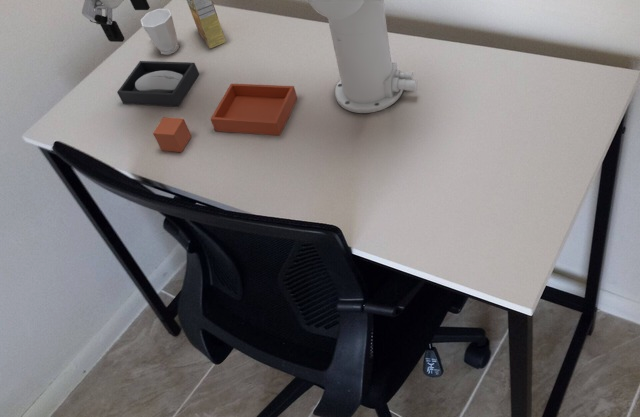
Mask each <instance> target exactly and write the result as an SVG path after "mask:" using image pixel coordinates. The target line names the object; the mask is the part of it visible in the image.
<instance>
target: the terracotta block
mask: <svg viewBox="0 0 640 417" xmlns="http://www.w3.org/2000/svg"><path fill="white" fill-rule="evenodd" d="M152 134H153V137H154V139H155V141H156V143H157V144H158V146H159V148H160V150H161V151H165V152H175V153H183V152H184V150H185V148H186V146H187V145H188V142H189V141H190V140H191V138H192V133H191V131H190V129H189V127H188V124H187V123H186V121H185V119H184V118H181V117H166V116H164V117H162V118H161V120H160V121H159V123H158V125H157V126H156V127H155V129H154V130H153V132H152Z"/></svg>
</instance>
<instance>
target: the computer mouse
mask: <svg viewBox="0 0 640 417" xmlns="http://www.w3.org/2000/svg"><path fill="white" fill-rule="evenodd" d="M182 77H183V75H181V74H179V73H176V72H173V71H155V72H151V73H148V74H146V75H143V76H142V77H140V78H139V79H138V80H137V81H136V82H135V87H136V89H137V90H138V91H140V92H159V93H172V92H173V91H174V89H175V88H176V86H177V85H178V83H179V82H180V80H181V79H182Z"/></svg>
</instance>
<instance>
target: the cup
mask: <svg viewBox="0 0 640 417" xmlns="http://www.w3.org/2000/svg"><path fill="white" fill-rule="evenodd" d="M140 23H141V26H142V28H143V30H144V31H145V33H146V34H147V35H148V37H149V38H150V40H151V41H152V43H153V44H154V45H155V47H156V48H157V50H158V51H160V54H161V55H164V56H169V55H171V54H174V53H176V52H177V50H178V49H179V48H180V47H179V44H178V36H177V35H178V34H177V32H176V28H175V24H174V19H173V15H172V13H171V11H170V9H169V8H157V9H154V10H150V11H149V12H146V13H145V15H144V16H142V18H141V19H140Z"/></svg>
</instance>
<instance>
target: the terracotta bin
mask: <svg viewBox="0 0 640 417" xmlns="http://www.w3.org/2000/svg"><path fill="white" fill-rule="evenodd" d="M229 84H230V85H229V86H228V88H227V89H226V91H225V93H224V94H223V96H222V98H221V99H220V101H219V103H218V105H217V107H216V108H215V110H214V112H213V113H212V115H211V117H210V122H211V124H212V127H213V129H214V131H215V132H225V133H238V134H253V135H269V136H280V135H281V134H282V132H283V130H284V127H285V125H286V123H287V121H288V119H289V117H290V115H291V113H292V111H293V109H294V107H295V105H296V102H297V100H298V95H297V92H296V89H295V85H279V84H278V85H277V84H275V85H274V84H254V83H253V84H252V83H229Z"/></svg>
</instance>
